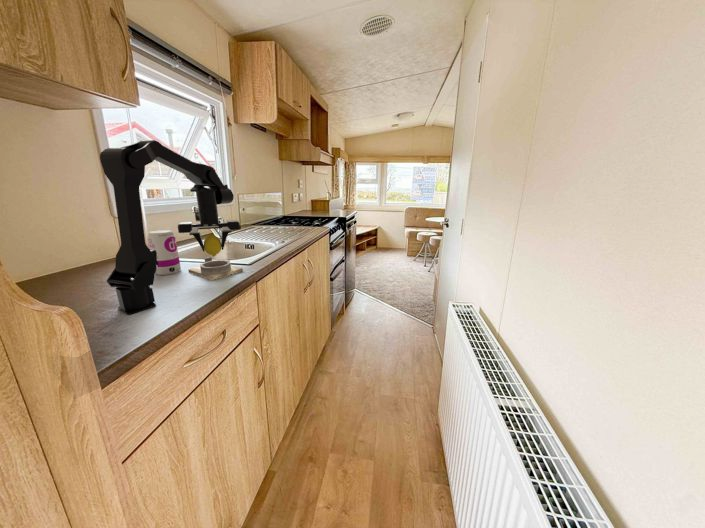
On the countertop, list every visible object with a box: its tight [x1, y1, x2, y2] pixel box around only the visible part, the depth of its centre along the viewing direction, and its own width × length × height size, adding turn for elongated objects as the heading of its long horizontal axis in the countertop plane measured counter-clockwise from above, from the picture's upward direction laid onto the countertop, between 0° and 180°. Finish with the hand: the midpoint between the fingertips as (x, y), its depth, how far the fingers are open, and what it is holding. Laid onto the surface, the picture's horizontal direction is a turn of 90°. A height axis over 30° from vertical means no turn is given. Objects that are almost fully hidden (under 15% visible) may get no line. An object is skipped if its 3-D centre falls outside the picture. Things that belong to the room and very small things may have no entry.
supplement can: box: [146, 229, 182, 276], centre depth 99 cm, size 8×8×15 cm
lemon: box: [203, 234, 222, 257], centre depth 97 cm, size 6×6×8 cm
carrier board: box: [188, 256, 244, 281], centre depth 102 cm, size 12×15×4 cm
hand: (213, 250), depth 98 cm, fingers closed on lemon, 5 cm apart
